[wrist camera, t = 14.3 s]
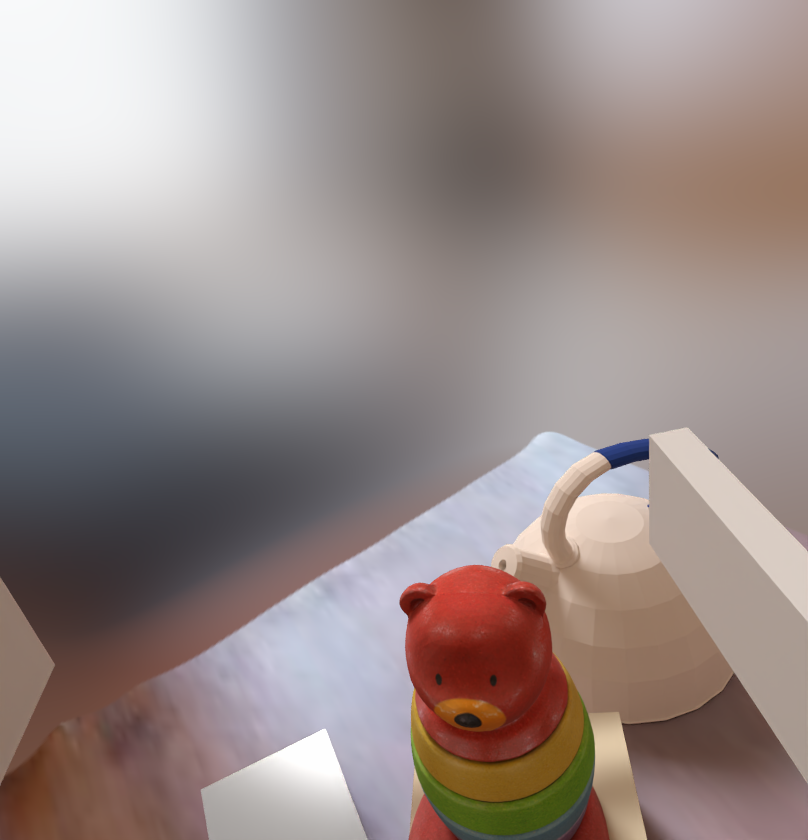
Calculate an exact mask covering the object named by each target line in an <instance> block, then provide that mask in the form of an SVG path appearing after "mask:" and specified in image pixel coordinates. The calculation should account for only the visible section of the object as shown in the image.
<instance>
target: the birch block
mask: <svg viewBox="0 0 808 840" xmlns="http://www.w3.org/2000/svg"><path fill="white" fill-rule="evenodd" d="M588 716H589V719H590V722H591V726H592V730H593V734H594V742H595V770H594V778H593V787H594V789H595V791H596V794H597V796H598V799H599V801H600V804H601V806H602V809H603V813H604V816H605V819H606V824H607V829H608V833H609V839H610V840H647V837H646V833H645V828H644V824H643V819H642V814H641V810H640V805H639V801H638V796H637V792H636V787H635V783H634V778H633V774H632V769H631V765H630V760H629V756H628V751H627V746H626V742H625V737H624V733H623V728H622V724H621V719H620V715H619V712H605V713H588ZM423 795H424V792H423V789H422V787H421V784H420V782H419V779H418V776H417V773H416V770H415V767H414V781H413V795H412V808H411V822H410V831H411V827H412V823H413V820H414V817H415V814H416V811H417V809H418V806H419V804H420V801H421V799H422V797H423Z"/></svg>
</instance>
